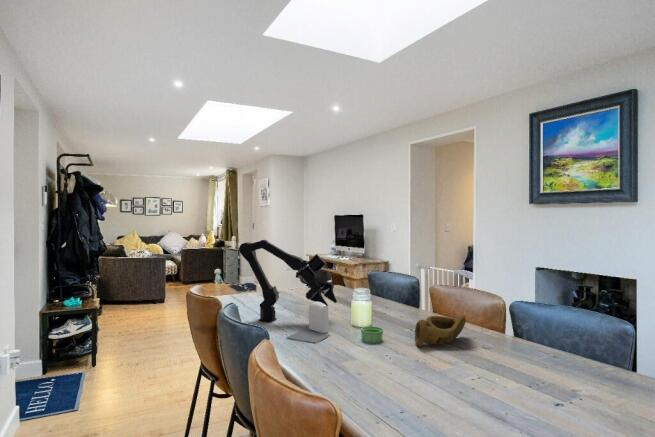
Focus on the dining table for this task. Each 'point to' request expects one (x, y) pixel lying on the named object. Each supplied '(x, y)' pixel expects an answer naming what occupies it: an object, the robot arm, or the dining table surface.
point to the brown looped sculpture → (438, 330)
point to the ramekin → (372, 334)
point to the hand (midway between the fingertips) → (331, 304)
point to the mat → (308, 336)
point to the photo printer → (318, 317)
